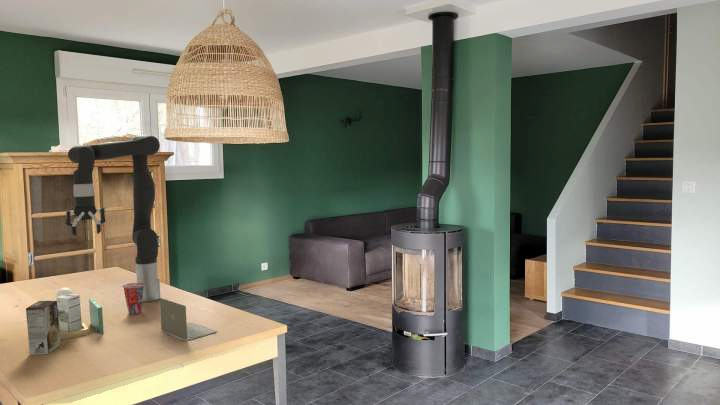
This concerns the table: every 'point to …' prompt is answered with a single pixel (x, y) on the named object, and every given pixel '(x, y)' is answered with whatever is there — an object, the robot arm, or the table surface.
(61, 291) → the lightbulb
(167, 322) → the laptop
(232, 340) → the table surface
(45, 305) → the coffee box
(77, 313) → the syrup box
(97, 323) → the tan and teal pieces
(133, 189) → the robot arm
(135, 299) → the cup
